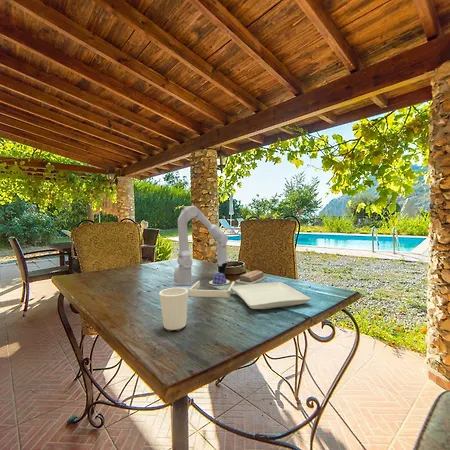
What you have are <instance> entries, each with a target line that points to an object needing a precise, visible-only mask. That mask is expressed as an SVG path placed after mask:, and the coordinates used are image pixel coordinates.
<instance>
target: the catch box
mask: <svg viewBox="0 0 450 450" xmlns="http://www.w3.org/2000/svg"><path fill="white" fill-rule="evenodd" d="M232 286H236V281H234V280H233V281H232V282H231V284H230V286H229V288H228V289H227V290H225V289H224V290H219V289H199V288H200V287H201V281H200V280H197V281H196V282H195V283H194V284H192V286H191V287H190V288H189V289H187V290H188V297H197V298H198V297H199V298H201V297H203V298H226V299H227V298H231V296H232V294H233V292H234V291H233V289H232V288H231V287H232Z"/></svg>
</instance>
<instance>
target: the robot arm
mask: <svg viewBox="0 0 450 450" xmlns="http://www.w3.org/2000/svg"><path fill="white" fill-rule="evenodd" d="M192 219H197V220H199V221H200V222H201V223H202V224H203V225H204V226H205V227H206V228H207V232H208V233H209V234H210V235H211V236H212V237H213V238H214V239H215V242H216V248H217V249H216V255H217V261H216V262H217V268H218V270H219V273H223V274H224V275H225V274H226V269H227V266H228V263H229V262H230V260H229V259H228V257H227V256H228V252H227V251H228V249H227V243H228V241H229V238H228V236H227V234H226V233H224V231H222V230H221V229H220V228H219V225H218V224H214V223H213V224H212V223H211V221H210V220H209V219H208V217H207V216H205V215H204V213H203V212H202V211H201V209H198V207H197V206H196V205H190V206H189V205H187V206H185V207H184V208H183V209H181V212H180V214H179V216H178V218H177V232H178V250H179V252H178V257H177V261H176V262H177V264H178V267H176V268H174V271H173V275H174V276H173V280H174V281H173V285H175V286H176V285H177V286H191V285H193V283H194V282H195V280H193V279H192V277H193V276H192V275H193V274H192V266H193V260H192V257H191V252H190V251H189V250H190V249H189V235H188V223H189V221H191V220H192ZM225 276H226V275H225Z"/></svg>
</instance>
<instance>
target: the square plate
mask: <svg viewBox="0 0 450 450" xmlns="http://www.w3.org/2000/svg"><path fill="white" fill-rule="evenodd" d="M231 288H232V289H233V292H234V293H235V294H236V295H237V296H239V298H241V299H242V300H243V301H244V302H245V303H246V305H247V306H248V307H249V308H250V309H253V310H267V309H275V308H283V307H284V308H285V307H293V306H296V305H302V304H306V303H309V302H310V301H311V300H312V298H311V297H309V296H307V295H306V294H303V293H302V292H300V291H299V290H296V289H295V288H293V287H292V286H289V285H288V284H285V283H283V282H282V281H276V282H275V281H274V282H260V283H259V282H257V283H254V284H248V285H246V284H242V285H241V284H240V285H235V286H232V287H231Z"/></svg>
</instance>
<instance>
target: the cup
mask: <svg viewBox="0 0 450 450" xmlns="http://www.w3.org/2000/svg"><path fill="white" fill-rule="evenodd" d="M188 290H189V289H187V288H185V287H177V286H176V287H169V288H165V289H162V290H160V291H159V293H158V297H159V303H160V308H161V317H162V324H163V328H164V329H165V330H167V332H169V333H170V332H173V331H177V332H180V331H181V330H182V329H183V328H186V326H187V313H188V299H189V298H188V297H189V296H188Z"/></svg>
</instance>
